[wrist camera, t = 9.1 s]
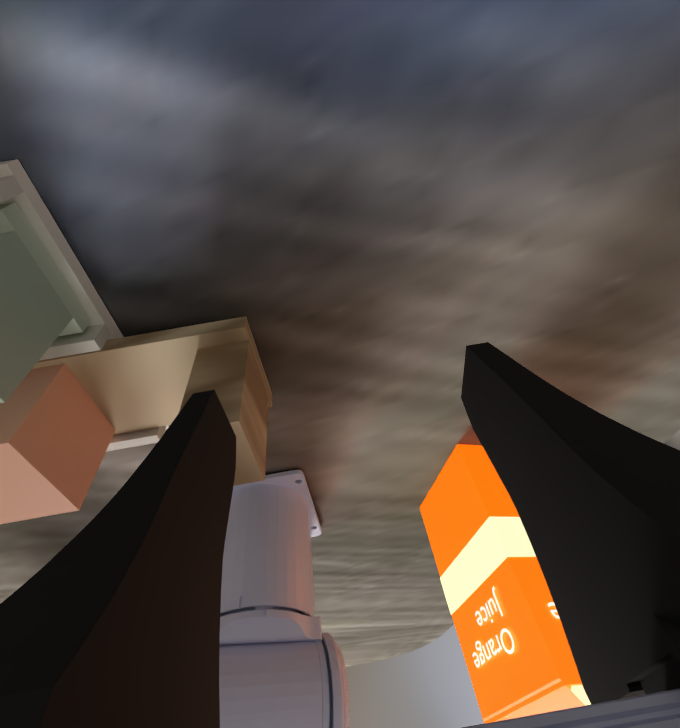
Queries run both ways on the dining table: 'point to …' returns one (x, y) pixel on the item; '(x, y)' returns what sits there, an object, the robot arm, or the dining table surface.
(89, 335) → the lane board
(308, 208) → the dining table surface
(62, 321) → the strip
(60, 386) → the block
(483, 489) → the orange juice
